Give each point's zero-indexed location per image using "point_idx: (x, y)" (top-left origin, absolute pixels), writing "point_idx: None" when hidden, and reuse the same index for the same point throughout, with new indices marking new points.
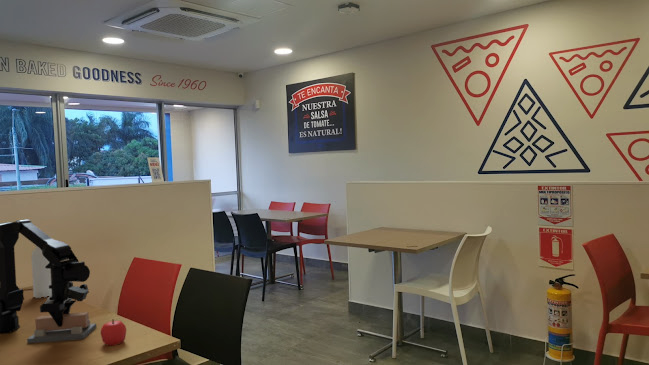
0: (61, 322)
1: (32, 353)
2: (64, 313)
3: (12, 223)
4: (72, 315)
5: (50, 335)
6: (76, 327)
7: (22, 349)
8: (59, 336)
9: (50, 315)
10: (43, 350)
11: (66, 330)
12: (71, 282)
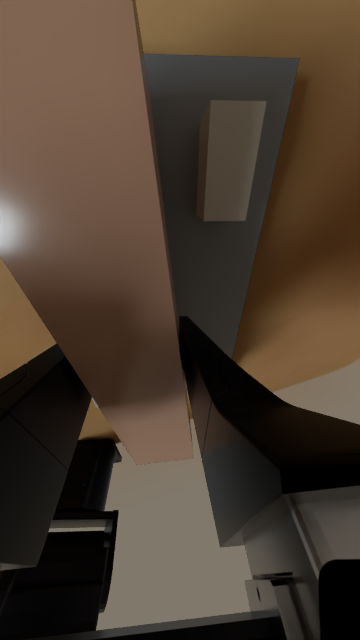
0: (200, 330)
1: (355, 314)
2: (73, 387)
3: None
4: (142, 278)
5: (211, 330)
6: (236, 167)
7: (281, 362)
8: (247, 279)
9: (127, 437)
10: (347, 287)
11: None
12: None
